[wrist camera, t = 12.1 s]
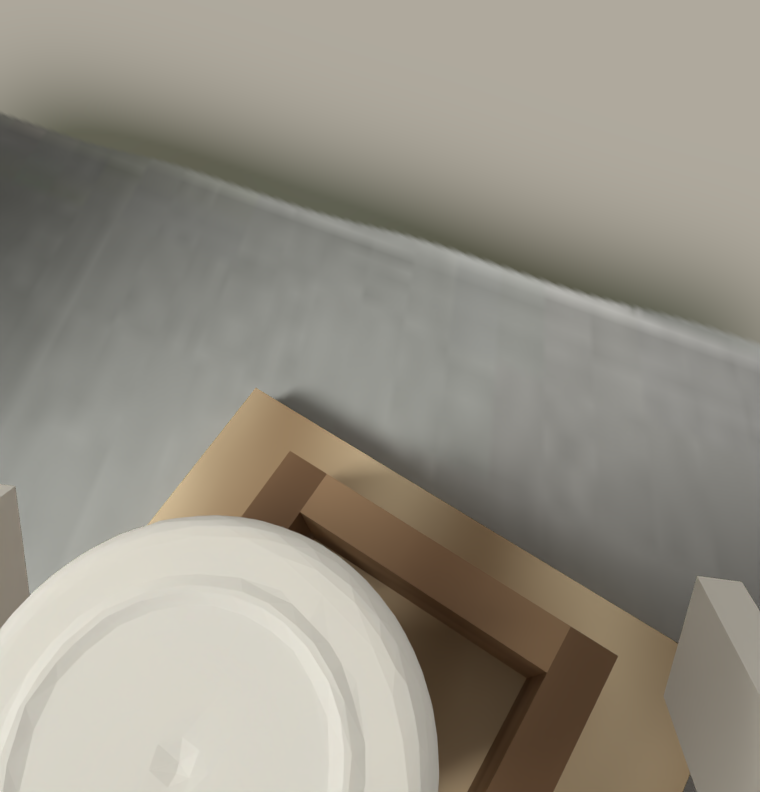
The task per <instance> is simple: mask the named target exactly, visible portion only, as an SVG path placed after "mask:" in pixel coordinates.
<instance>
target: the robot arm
mask: <svg viewBox="0 0 760 792" xmlns="http://www.w3.org/2000/svg"><path fill="white" fill-rule="evenodd" d="M29 596H30V594H29V586H28V579H27V571H26V563H25V556H24V548H23V541H22V533H21V526H20V518H19V510H18V503H17V495H16V488H15V486H10V485H2V484H0V629H1V627H2V626H3V625H4V623H5V622H6V621H7V620H8V619H9V617H10V616H11V615H12V614H13V613H14V612H15V611H16V609H17V608H18V607H19V606H20V605H21V604H22V603H23V602H24V601H25V600H26V599H27V598H28V597H29ZM664 699H665V702H666V705H667V708H668V711H669V714H670V717H671V719H672V722H673V725H674V728H675V731H676V734H677V737H678V740H679V743H680V745H681V748H682V751H683V754H684V757H685V760H686V763H687V766H688V768H689V771H690V774H691V777H692V780H693V783H694V786H695V789H696V792H760V611H759V609H758V607H757V606H756V604H755V602H754V601H753V599H752V598H751V596H750V594H749V593H748V591H747V589H746V588H745V586H744V585H743V583H742V582H740V581H732V580H725V579H717V578H710V577H702V576H697V578H696V582H695V585H694V589H693V592H692V596H691V599H690V603H689V607H688V610H687V614H686V617H685V621H684V624H683V628H682V632H681V635H680V639H679V642H678V646H677V649H676V653H675V656H674V660H673V664H672V667H671V671H670V674H669V678H668V681H667V685H666V689H665V692H664Z"/></svg>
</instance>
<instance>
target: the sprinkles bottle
mask: <svg viewBox="0 0 760 792" xmlns="http://www.w3.org/2000/svg"><path fill="white" fill-rule="evenodd" d="M438 787H439V760H438V742H437V732H436V726H435V719H434V713H433V707H432V703H431V699H430V696H429V692H428V689H427V685H426V682H425V679H424V675H423V672H422V670H421V667H420V665H419V662H418V660H417V657H416V655H415V652H414V650H413V648H412V646H411V644H410V642H409V640H408V638H407V636H406V634H405V632H404V630H403V629H402V627H401V625H400V624H399V622H398V620H397V619H396V617H395V615H394V614H393V613H392V611H391V610H390V609H389V607H388V606H387V605H386V603H385V602H384V601H383V599H382V598H381V597H380V595H379V594H378V593H377V592H376V591H375V590H374V589H373V587H372V586H371V585H370V584H369V583H368V582H367V580H365V579H364V578H363V577H362V576H361V575H360V574H359V573H358V572H357V571H356V570H355V569H354V568H353V567H351V566H350V565H349V564H348V563H346V562H345V561H344V560H343V559H342V558H340V557H339V556H338V555H336V554H335V553H333V552H332V551H330V550H329V549H327V548H326V547H324V546H323V545H321V544H319V543H317V542H315V541H314V540H312V539H310V538H308V537H306V536H303V535H301V534H299V533H296V532H294V531H291V530H289V529H286V528H283V527H280V526H277V525H274V524H271V523H267V522H264V521H260V520H255V519H249V518H243V517H235V516H221V515H209V516H193V517H183V518H174V519H167V520H161V521H158V522H155V523H153V524H150V525H147V526H143V527H139V528H136V529H133V530H130V531H128V532H125V533H122V534H119V535H117V536H115V537H113V538H111V539H109V540H107V541H105V542H103V543H101V544H99V545H97V546H96V547H94V548H92V549H90V550H88V551H87V552H85V553H83V554H82V555H80V556H79V557H77V558H76V559H74V560H73V561H71V562H70V563H68V564H67V565H65V566H64V567H63V568H62V569H60V570H59V571H58V572H56V573H55V574H54V575H52V576H51V577H50V578H49V579H47V580H46V581H45V582H44V583H43V584H42V585H41V586H40V587H38V588H37V589H36V590H35V591H34V592H33V593H32V594H31V595H30V596H29V597H28V598H27V599H26V600H25V601H24V602H23V603H22V604H21V605H20V606H19V607H18V608H17V609H16V611H15V612H14V613H13V614H12V615H11V616H10V617H9V619H8V620H7V621H6V622H5V623H4V625H3V626H2V627H1V629H0V792H438Z"/></svg>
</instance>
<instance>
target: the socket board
mask: <svg viewBox="0 0 760 792" xmlns="http://www.w3.org/2000/svg"><path fill="white" fill-rule="evenodd" d="M209 515H221V516H235V517H243V518H249V519H255V520H260V521H264V522H267V523H271V524H274V525H277V526H280V527H283V528H286V529H289V530H291V531H294V532H296V533H299V534H301V535H303V536H306V537H308V538H310V539H312V540H314V541H315V542H317V543H319V544H321V545H323V546H324V547H326V548H327V549H329V550H330V551H332V552H333V553H335V554H336V555H338V556H339V557H340V558H342V559H343V560H344V561H345V562H346V563H348V564H349V565H350V566H351V567H353V568H354V569H355V570H356V571H357V572H358V573H359V574H360V575H361V576H362V577H363V578H364V579H365V580H367V582H368V583H369V584H370V585H371V586H372V587H373V589H374V590H375V591H376V592H377V593H378V594H379V595H380V597H381V598H382V599H383V601H384V602H385V603H386V605H387V606H388V607H389V609H390V610H391V611H392V613H393V614H394V615H395V617H396V619H397V620H398V622H399V624H400V625H401V627H402V629H403V630H404V632H405V634H406V636H407V638H408V640H409V642H410V644H411V646H412V648H413V650H414V652H415V655H416V657H417V660H418V662H419V665H420V667H421V670H422V672H423V675H424V679H425V682H426V685H427V689H428V692H429V696H430V699H431V703H432V707H433V713H434V719H435V726H436V732H437V742H438V760H439V787H438V792H683V790H684V788H685V785H686V783H687V780H688V778H689V776H690V771H689V768H688V766H687V763H686V760H685V757H684V754H683V751H682V748H681V745H680V743H679V740H678V737H677V734H676V731H675V728H674V725H673V722H672V719H671V717H670V714H669V711H668V708H667V705H666V702H665V699H664V692H665V689H666V685H667V681H668V678H669V674H670V671H671V667H672V664H673V660H674V656H675V653H676V649H677V646H678V643H676V642H675V641H673V640H672V639H670V638H668V637H667V636H665V635H663V634H662V633H660V632H658V631H657V630H655V629H653V628H652V627H650V626H648V625H647V624H645V623H643V622H642V621H640V620H639V619H637V618H635V617H634V616H632V615H630V614H629V613H627V612H625V611H624V610H622V609H620V608H619V607H617V606H615V605H614V604H612V603H610V602H609V601H607V600H605V599H604V598H602V597H601V596H599V595H597V594H596V593H594V592H592V591H591V590H589V589H587V588H586V587H584V586H582V585H581V584H579V583H577V582H576V581H574V580H572V579H571V578H569V577H567V576H566V575H564V574H563V573H561V572H559V571H558V570H556V569H554V568H553V567H551V566H549V565H548V564H546V563H544V562H543V561H541V560H539V559H538V558H536V557H534V556H533V555H531V554H530V553H528V552H526V551H525V550H523V549H521V548H520V547H518V546H516V545H515V544H513V543H511V542H510V541H508V540H506V539H505V538H503V537H501V536H500V535H498V534H496V533H495V532H493V531H492V530H490V529H488V528H487V527H485V526H483V525H482V524H480V523H478V522H477V521H475V520H473V519H472V518H470V517H468V516H467V515H465V514H463V513H462V512H460V511H459V510H457V509H455V508H454V507H452V506H450V505H449V504H447V503H445V502H444V501H442V500H440V499H439V498H437V497H435V496H434V495H432V494H430V493H429V492H427V491H425V490H424V489H422V488H421V487H419V486H417V485H416V484H414V483H412V482H411V481H409V480H407V479H406V478H404V477H402V476H401V475H399V474H397V473H396V472H394V471H392V470H391V469H389V468H387V467H386V466H384V465H383V464H381V463H379V462H378V461H376V460H374V459H373V458H371V457H369V456H368V455H366V454H364V453H363V452H361V451H359V450H358V449H356V448H354V447H353V446H351V445H350V444H348V443H346V442H345V441H343V440H341V439H340V438H338V437H336V436H335V435H333V434H331V433H330V432H328V431H326V430H325V429H323V428H321V427H320V426H318V425H316V424H315V423H313V422H312V421H310V420H308V419H307V418H305V417H303V416H302V415H300V414H298V413H297V412H295V411H293V410H292V409H290V408H288V407H287V406H285V405H283V404H282V403H280V402H279V401H277V400H275V399H274V398H272V397H270V396H269V395H267V394H265V393H264V392H262V391H260V390H259V389H257V388H255V389H254V391H253V392H252V393H251V395H250V396H249V397H248V398H247V400H246V401H245V402H244V403H243V405H242V406H241V407H240V408H239V410H238V411H237V412H236V413H235V415H234V416H233V417H232V419H231V420H230V421H229V422H228V424H227V425H226V426H225V427H224V429H223V430H222V431H221V432H220V434H219V435H218V436H217V438H216V439H215V440H214V441H213V443H212V444H211V445H210V446H209V448H208V449H207V450H206V451H205V453H204V454H203V455H202V457H201V458H200V459H199V460H198V462H197V463H196V464H195V465H194V467H193V468H192V469H191V470H190V472H189V473H188V474H187V475H186V477H185V478H184V479H183V481H182V482H181V483H180V484H179V486H178V487H177V488H176V489H175V491H174V492H173V493H172V494H171V496H170V497H169V498H168V500H167V501H166V502H165V503H164V505H163V506H162V507H161V508H160V510H159V511H158V512H157V513H156V515H155V516H154V517H153V519H152V520H151V521H150V522H149V524H148V525H150V524H153V523H155V522H158V521H161V520H167V519H174V518H183V517H193V516H209Z"/></svg>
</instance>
